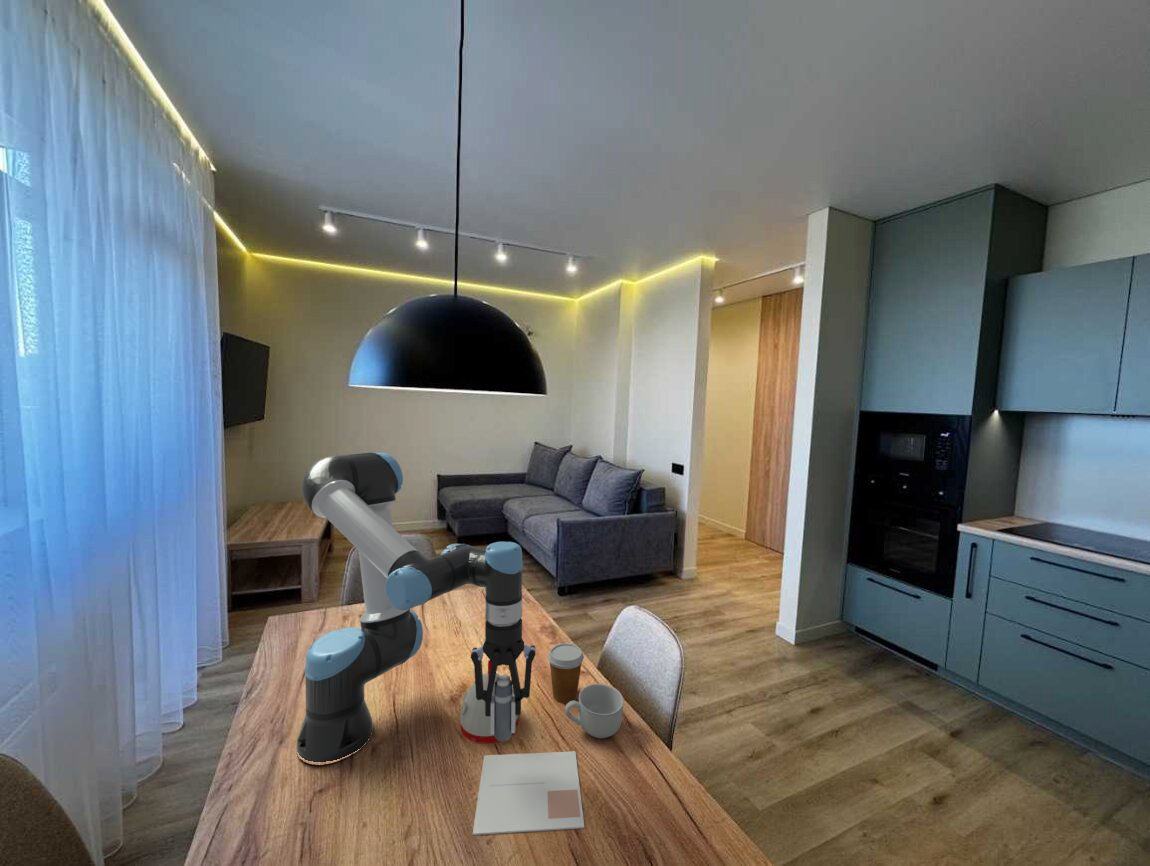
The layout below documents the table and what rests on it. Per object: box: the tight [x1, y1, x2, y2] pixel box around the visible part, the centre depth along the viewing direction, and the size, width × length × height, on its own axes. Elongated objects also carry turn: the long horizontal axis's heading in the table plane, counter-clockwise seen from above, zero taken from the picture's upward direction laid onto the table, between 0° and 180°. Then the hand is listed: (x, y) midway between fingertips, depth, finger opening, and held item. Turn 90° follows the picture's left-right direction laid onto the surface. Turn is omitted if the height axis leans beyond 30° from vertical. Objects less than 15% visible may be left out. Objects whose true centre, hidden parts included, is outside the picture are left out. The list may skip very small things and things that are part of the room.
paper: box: [472, 750, 585, 836], centre depth 89 cm, size 20×18×1 cm
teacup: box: [564, 683, 625, 739], centre depth 106 cm, size 14×11×8 cm
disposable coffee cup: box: [547, 642, 584, 704], centre depth 118 cm, size 10×10×12 cm
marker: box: [494, 674, 513, 742], centre depth 92 cm, size 4×4×12 cm
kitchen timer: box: [459, 659, 519, 744], centre depth 108 cm, size 14×14×15 cm
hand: (503, 728), depth 93 cm, fingers closed on marker, 3 cm apart
